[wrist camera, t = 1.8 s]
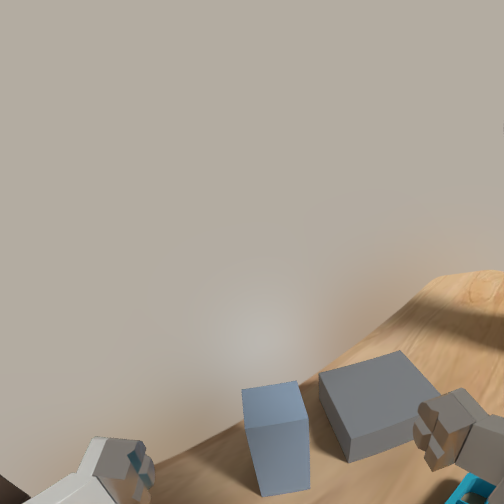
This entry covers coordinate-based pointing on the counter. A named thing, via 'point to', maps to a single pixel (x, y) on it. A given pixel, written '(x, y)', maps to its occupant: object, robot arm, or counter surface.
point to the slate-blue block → (278, 437)
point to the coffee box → (11, 493)
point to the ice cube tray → (471, 489)
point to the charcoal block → (374, 403)
